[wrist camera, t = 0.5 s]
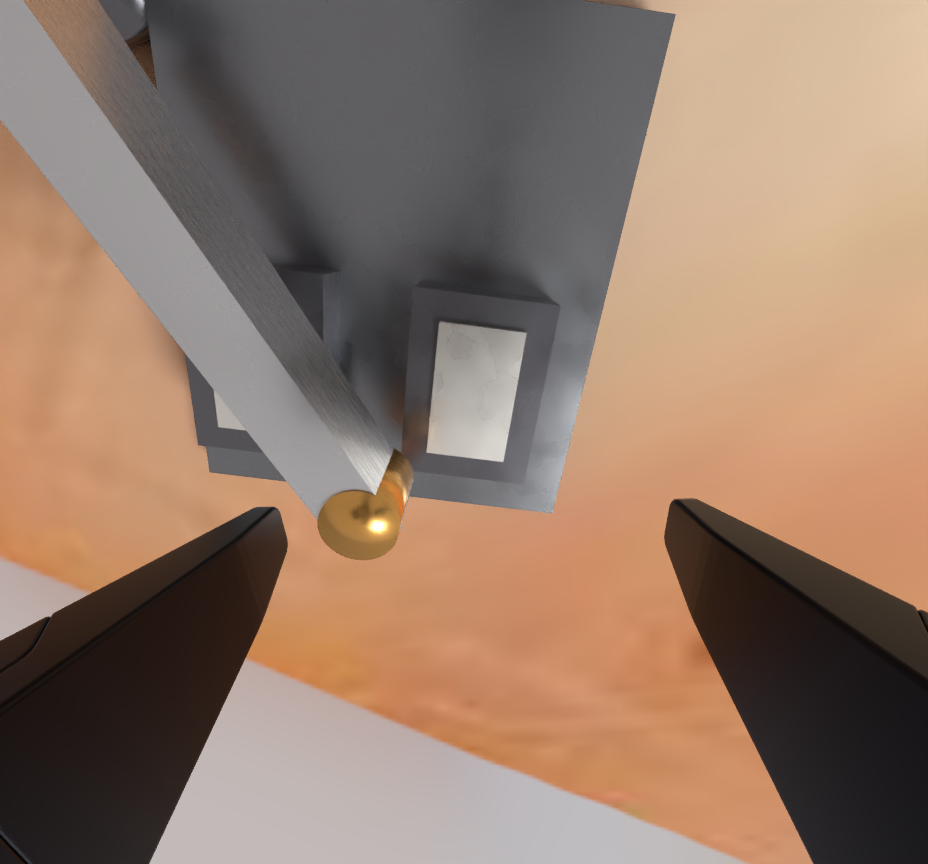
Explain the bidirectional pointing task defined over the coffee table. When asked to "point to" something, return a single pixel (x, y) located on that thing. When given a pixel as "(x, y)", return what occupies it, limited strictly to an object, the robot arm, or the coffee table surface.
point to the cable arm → (195, 263)
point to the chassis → (426, 207)
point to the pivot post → (128, 19)
